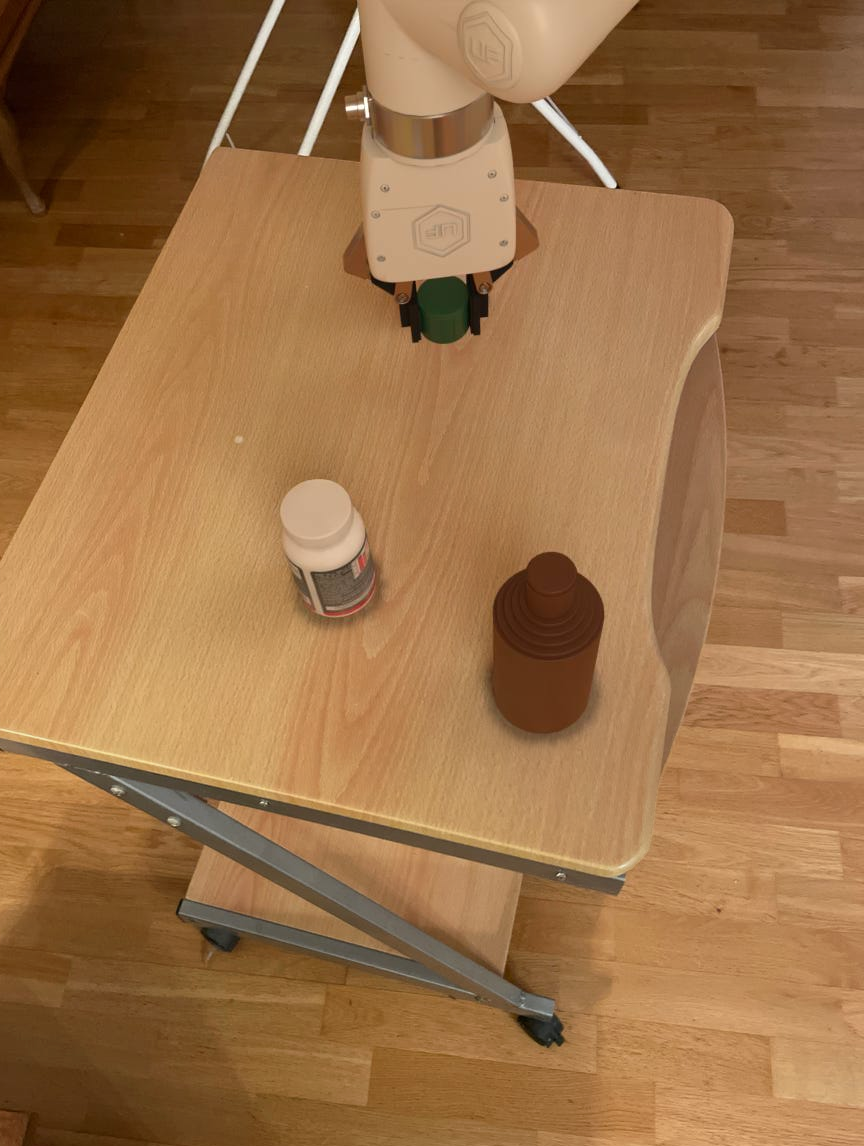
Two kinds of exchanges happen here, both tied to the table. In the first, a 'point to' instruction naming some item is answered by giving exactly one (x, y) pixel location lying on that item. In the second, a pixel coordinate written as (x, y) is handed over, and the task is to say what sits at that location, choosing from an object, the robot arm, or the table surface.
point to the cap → (443, 309)
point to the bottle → (545, 644)
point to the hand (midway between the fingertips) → (444, 323)
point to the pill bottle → (327, 548)
